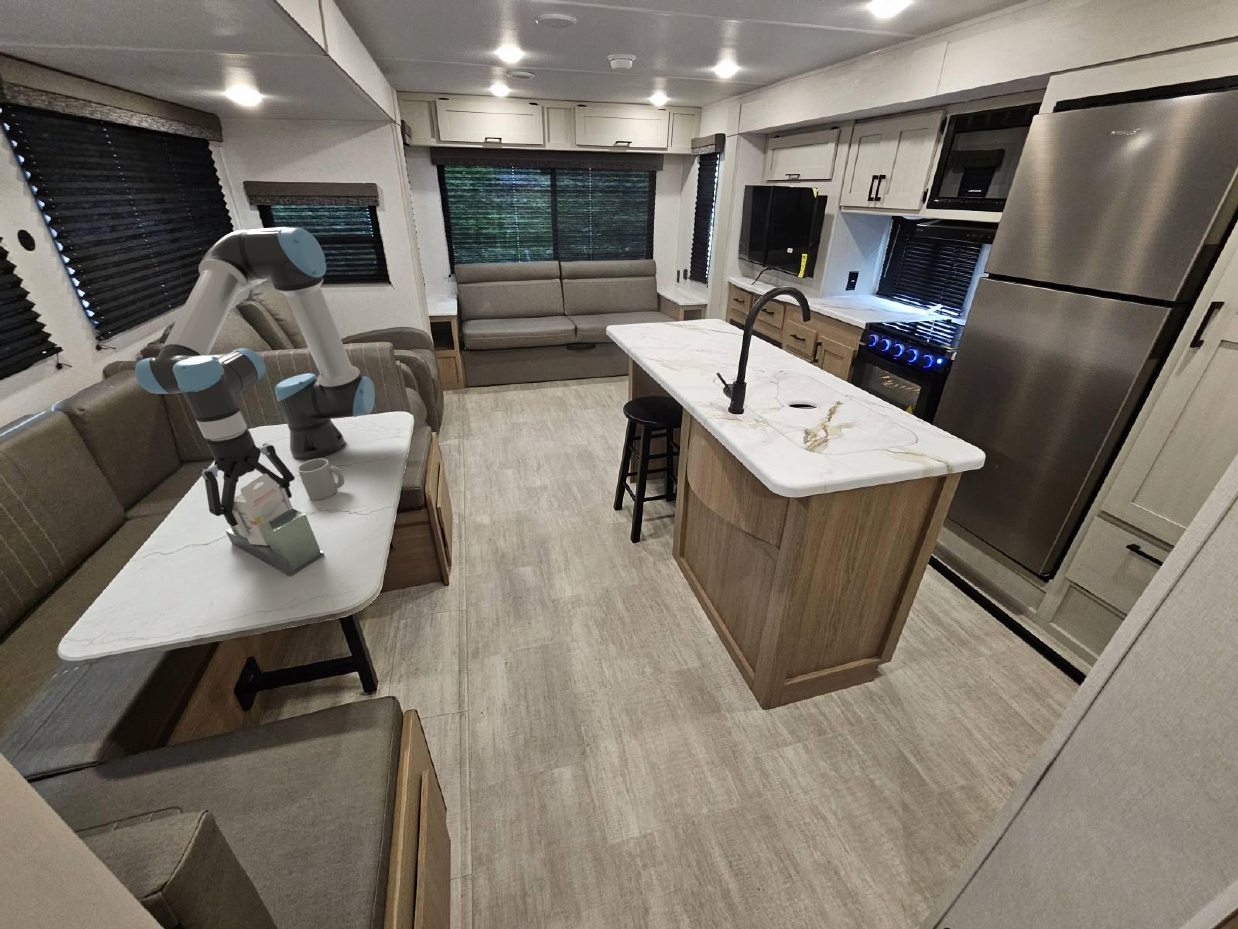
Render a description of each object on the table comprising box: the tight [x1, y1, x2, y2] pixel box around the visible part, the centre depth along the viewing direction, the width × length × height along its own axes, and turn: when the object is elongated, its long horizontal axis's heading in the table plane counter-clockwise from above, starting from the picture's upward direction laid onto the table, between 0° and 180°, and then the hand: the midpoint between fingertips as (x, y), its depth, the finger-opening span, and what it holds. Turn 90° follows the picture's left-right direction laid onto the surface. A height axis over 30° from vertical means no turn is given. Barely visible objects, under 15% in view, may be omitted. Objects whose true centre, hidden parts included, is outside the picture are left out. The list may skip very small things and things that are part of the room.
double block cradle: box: [224, 508, 325, 577], centre depth 118 cm, size 8×24×12 cm, turn 59°
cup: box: [297, 458, 345, 501], centre depth 140 cm, size 7×10×9 cm
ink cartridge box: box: [233, 474, 289, 546], centre depth 115 cm, size 9×5×15 cm, turn 168°
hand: (267, 522), depth 118 cm, fingers closed on ink cartridge box, 9 cm apart
